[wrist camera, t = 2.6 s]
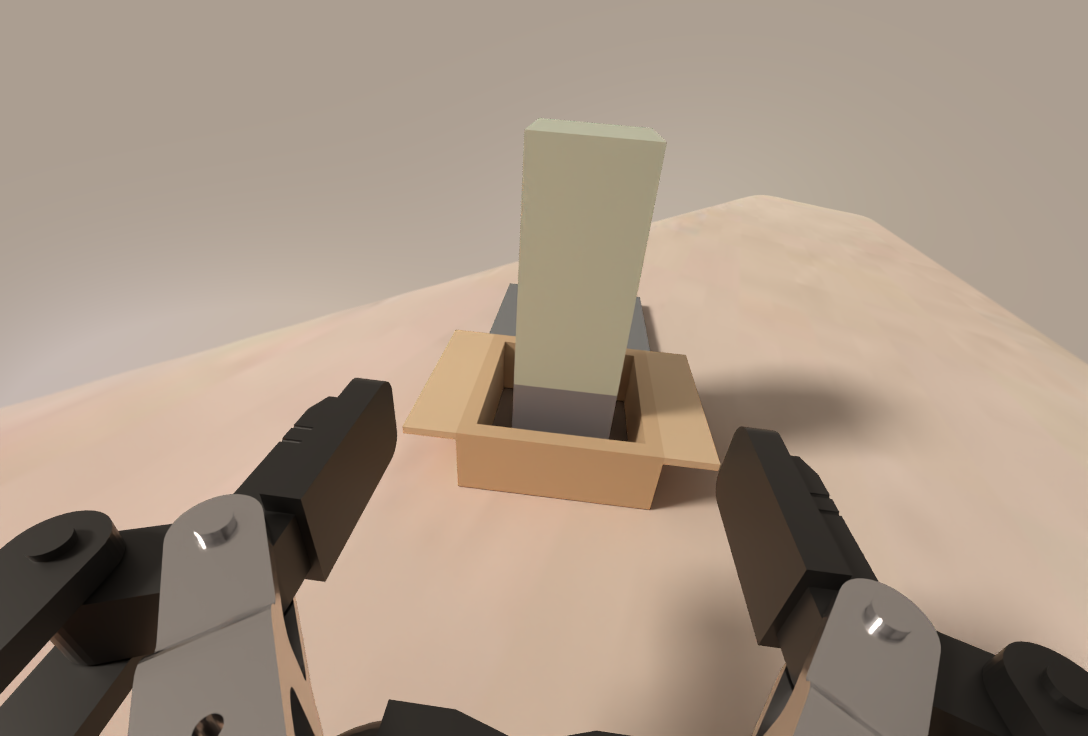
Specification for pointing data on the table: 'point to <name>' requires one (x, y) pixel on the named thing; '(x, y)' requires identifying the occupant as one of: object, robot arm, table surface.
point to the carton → (558, 459)
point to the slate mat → (508, 316)
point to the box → (579, 269)
